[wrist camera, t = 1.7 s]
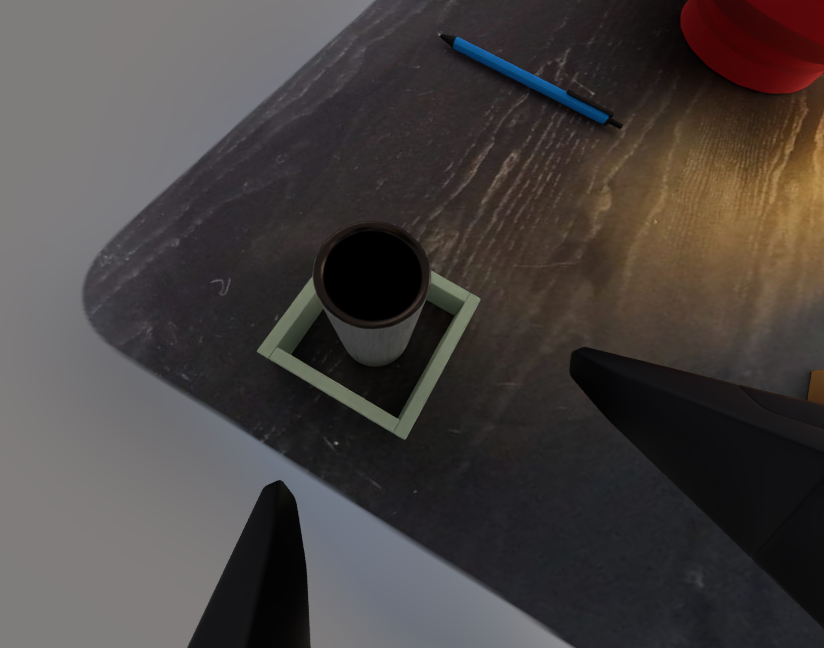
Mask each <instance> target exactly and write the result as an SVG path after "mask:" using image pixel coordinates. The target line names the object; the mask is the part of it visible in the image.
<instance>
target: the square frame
mask: <svg viewBox="0 0 824 648" xmlns="http://www.w3.org/2000/svg"><path fill="white" fill-rule="evenodd" d="M426 300H428V301H429V302H431V303H433V304H435V305H436V306H438V307H440V308H442V309H443V310H445V311H447V312H449V313H450V314H452V315H455V316H454V317H453V319H452V321H451V323H450V325H449V326H448V328H447V330H446V332H445V334H444V335H443V337H442V339H441V341H440V343H439V344H438V346H437V348H436V350H435V352H434V353H433V355H432V357H431V359H430V361H429V362H428V364H427V366H426V368H425V370H424V371H423V373H422V375H421V377H420V379H419V380H418V382H417V384H416V386H415V388H414V389H413V391H412V393H411V395H410V397H409V398H408V400H407V402H406V404H405V406H404V407H403V409H402V411H401V413H400V415H399V416H398V418H396V417H394V416H392V415H391V414H389V413H387V412H386V411H384V410H382V409H381V408H379V407H377V406H375V405H374V404H372V403H370V402H369V401H367V400H365V399H364V398H362V397H360V396H359V395H357V394H355V393H354V392H352V391H350V390H349V389H347V388H345V387H344V386H342V385H340V384H339V383H337V382H335V381H334V380H332V379H330V378H329V377H327V376H325V375H323V374H322V373H320V372H318V371H317V370H315V369H313V368H312V367H310V366H308V365H307V364H305V363H303V362H302V361H300V360H298V359H297V358H295V357H293V356H292V355H291V354H292V353H293V351H294V350H295V348H296V347H297V345H298V344H299V343H300V341H301V340H302V338H303V337H304V336H305V334H306V333H307V331H308V330H309V328H310V327H311V326H312V324H313V323H314V321H315V320H316V319H317V317H318V316H319V314H320V313H321V311H322V310H323V307H322V305H321V303H320V301H319V299H318V297H317V295H316V292H315V289H314V285H313V276H312V278H311V279H310V280H309V282H308V283H307V284H306V286H305V287H304V288H303V290H302V291H301V292H300V294H299V295H298V296H297V298H296V299H295V300H294V302H293V303H292V304H291V306H290V307H289V309H288V310H287V311H286V313H285V314H284V315H283V317H282V318H281V319H280V321H279V322H278V323H277V325H276V326H275V327H274V329H273V330H272V331H271V333H270V334H269V335H268V337H267V338H266V339H265V341H264V342H263V343H262V345H261V346H260V347H259V349H258V350H257V352H258V353H260V354H261V355H263V356H265V357H266V358H268V359H270V360H271V361H273V362H275V363H276V364H278V365H280V366H281V367H283V368H285V369H286V370H288V371H290V372H291V373H293V374H295V375H296V376H298V377H300V378H302V379H303V380H305V381H307V382H308V383H310V384H312V385H313V386H315V387H317V388H318V389H320V390H322V391H323V392H325V393H327V394H328V395H330V396H332V397H333V398H335V399H337V400H338V401H340V402H342V403H343V404H345V405H347V406H348V407H350V408H352V409H353V410H355V411H357V412H358V413H360V414H362V415H363V416H365V417H367V418H368V419H370V420H372V421H373V422H375V423H377V424H378V425H380V426H382V427H383V428H385V429H387V430H388V431H390V432H393V433H394V434H395V435H397V436H398V437H400V438H402V439H403V440H405V439H406V438H407V436H408V434H409V432H410V430H411V429H412V427H413V425H414V423H415V421H416V419H417V417H418V416H419V414H420V412H421V410H422V408H423V406H424V404H425V402H426V401H427V399H428V397H429V395H430V393H431V391H432V389H433V388H434V386H435V384H436V382H437V380H438V378H439V376H440V375H441V373H442V371H443V369H444V367H445V365H446V363H447V361H448V360H449V358H450V356H451V354H452V352H453V350H454V348H455V347H456V345H457V343H458V341H459V339H460V337H461V335H462V333H463V332H464V330H465V328H466V326H467V324H468V322H469V320H470V319H471V317H472V315H473V313H474V311H475V309H476V307H477V306H478V304H479V302H480V298H478V297H477V296H475V295H473V294H471V293H470V294H469V292H468V291H466V290H464V289H462V288H461V287H459V286H457V285H455V284H454V283H452V282H450V281H448V280H447V279H445V278H443V277H441V276H439V275H438V274H436V273H434V272H432V271H431V286H430V290H429V293H428V296H427V298H426Z"/></svg>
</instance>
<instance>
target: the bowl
mask: <svg viewBox="0 0 824 648" xmlns="http://www.w3.org/2000/svg"><path fill="white" fill-rule="evenodd" d="M681 29H682V32H683V34H684V36H685V38H686V41H687V43H688V44H689V46H690V47H691V49H692V50H693V51H694V52H695V53H696V55H697V56H698V57H699V58H700V59H701V60H702V61H703V62H704V63H705V64H706V65H707V66H708V67H709V68H710V69H712V70H714V71H715V72H717V73H718V74H720V75H722V76H723V77H725V78H727V79H728V80H730V81H732V82H734V83H736V84H738V85H741V86H744V87H747V88H750V89H753V90H757V91H760V92H764V93H773V94H779V93H792V92H796V91H799V90H801V89H804V88H805V87H807V86H808V85H810V84H811V83H812V82H813V81H815V80H816V79H817V78H818V77H819V76H820V75H822V74H823V73H824V0H688V1H687V2H686V4H685V5H684V7H683V9H682V12H681Z"/></svg>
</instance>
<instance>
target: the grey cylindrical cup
mask: <svg viewBox="0 0 824 648" xmlns="http://www.w3.org/2000/svg"><path fill="white" fill-rule="evenodd" d="M313 285H314V289H315V292H316V295H317V297H318V299H319V301H320V303H321V305H322V307H323V309H324V310H325V312H326V314H327V316H328V318H329V320H330V321H331V323H332V325H333V327H334V329H335V330H336V332H337V334H338V336H339V338H340V340H341V341H342V343H343V345H344V347H345V349H346V350H347V352H348V353H349V354H350V356H351V357H352V358H353V359H355V360H356V361H357V362H359V363H361V364H363V365H366V366H371V367H380V366H385V365H388V364H390V363H392V362H394V361H395V360H396V359H398V358H399V357H400V356H401V354H402V353H403V352H404V350H405V349H406V347H407V344H408V342H409V339H410V337H411V335H412V332H413V330H414V327H415V325H416V323H417V320H418V318H419V315H420V313H421V311H422V308H423V306H424V303H425V301H426V298H427V296H428V293H429V290H430V286H431V267H430V263H429V260H428V257H427V255H426V253H425V251H424V249H423V248H422V246H421V245H420V244H419V242H418V241H417V240H416V239H415V238H414V237H413V236H411V235H410V234H409V233H407V232H406V231H404V230H403V229H401V228H399V227H397V226H394V225H391V224H388V223H384V222H377V221H366V222H359V223H354V224H351V225H348V226H346V227H344V228H342V229H340V230H338V231H337V232H335V233H334V234H333V235H331V236H330V237H329V238H328V239H327V240H326V241H325V242H324V244H323V245H322V247H321V248H320V250H319V252H318V253H317V256H316V258H315V261H314V265H313Z"/></svg>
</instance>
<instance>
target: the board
mask: <svg viewBox="0 0 824 648" xmlns="http://www.w3.org/2000/svg"><path fill="white" fill-rule="evenodd" d="M807 400H808V401H812V402H817V403H822V404H824V370H815V371H812V373H811V379H810V386H809V392H808V399H807Z"/></svg>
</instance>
